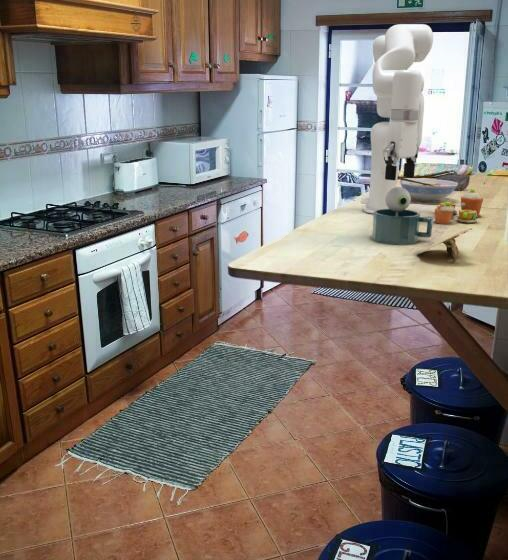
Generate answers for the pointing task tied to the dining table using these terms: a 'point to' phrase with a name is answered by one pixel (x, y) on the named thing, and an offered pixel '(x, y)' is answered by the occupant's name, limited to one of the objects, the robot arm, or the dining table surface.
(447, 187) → the ramen bowl
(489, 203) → the dining table surface
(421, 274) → the dining table surface
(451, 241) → the tan irregular piece
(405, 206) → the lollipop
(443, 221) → the toy tea set
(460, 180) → the perforated stone tool
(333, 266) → the dining table surface
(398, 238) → the mug
